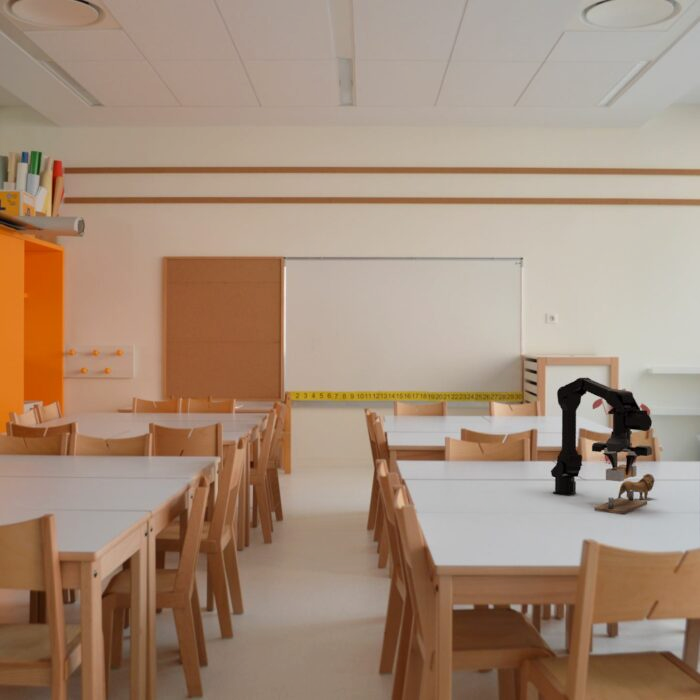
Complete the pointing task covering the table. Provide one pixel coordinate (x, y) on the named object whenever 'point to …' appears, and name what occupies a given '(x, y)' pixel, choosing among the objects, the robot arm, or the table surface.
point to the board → (621, 505)
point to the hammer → (620, 473)
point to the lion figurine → (638, 486)
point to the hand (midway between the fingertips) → (621, 474)
